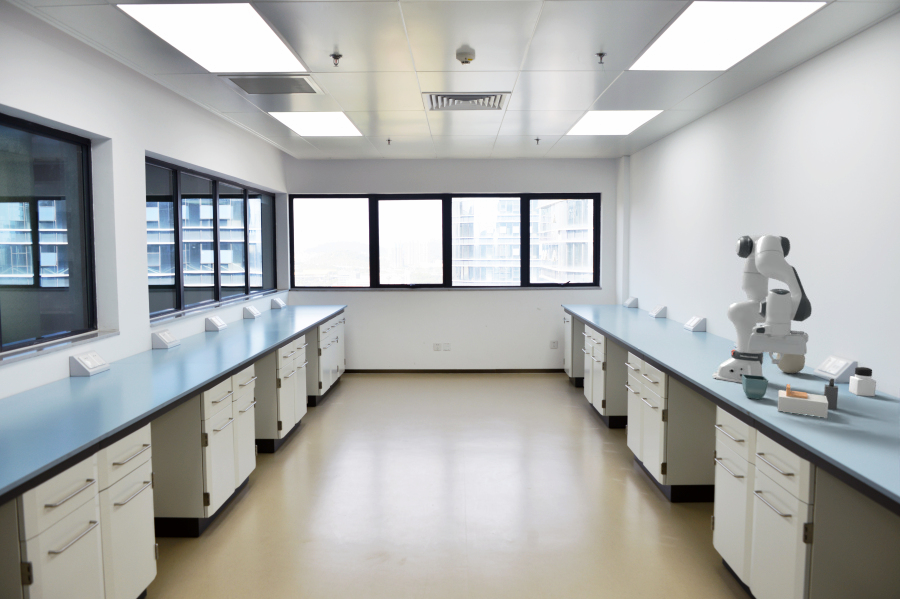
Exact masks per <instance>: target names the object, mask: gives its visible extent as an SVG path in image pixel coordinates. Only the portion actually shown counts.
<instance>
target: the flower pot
mask: <svg viewBox="0 0 900 599" xmlns="http://www.w3.org/2000/svg"><path fill="white" fill-rule="evenodd" d="M741 384H742V389H743V393H744V394H745V396H746V397H747V398H748V399H754V398H755V399H757V400H762V399H763V398H764V397H765V395H766V393H767V389H768V385H769V379H768V378H766V377H765V376H764V375H763V376H755V375H742V383H741ZM755 399H754V400H755Z"/></svg>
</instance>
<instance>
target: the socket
mask: <svg viewBox="0 0 900 599" xmlns="http://www.w3.org/2000/svg"><path fill="white" fill-rule="evenodd" d="M807 396H808V398H807V399H806V398H799V397H791V396H786V390H784V389H783V390H782V389H779V390H778V397H777V399H778V400H777V412H778V411H784V412H783V413H785V412H792V413H800V414H807V415H814V416H820V417H825V418H824V419H828V413H829V412H828V410H829V409H828V401H827V398H826V396H824V395H821V394H812V393H807ZM792 413H791V414H792ZM820 417H819V418H820Z"/></svg>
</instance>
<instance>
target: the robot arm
mask: <svg viewBox="0 0 900 599" xmlns="http://www.w3.org/2000/svg"><path fill="white" fill-rule="evenodd" d="M790 251H791V242H790V239H789V238H788V237H786V236H782V235H778V236H775V235H772V234H771V235H769V234H768V235H767V234H765V235H764V234H762V235H743V236H740V237H739V238H738V239H737V241H736V243H735V252H736V255H737V256H738V257H739V258H742V259H744V264H743V268H742V276H741V277H742V278H741V289H742V290H743V292H745V294H746V296H747V300H743V301H742V300H741V301H737V302H734V303H731V304H729V306H728V307H727V312H726V315H727V317H728V319H729V321H730V322H732V324H733V326H734V327H735V328H734V329H735V330H736V331H735V332H736V349H732V350H731V351H730V352H731V353H730V354H731V357H730V358H728V359H726V360H725V361H723V362H721V363H720V364H719V366H718V368H717V371H714V372H713V373H712V378H713V377H714V379H715V378H716V379H717V380H722V381H728V382H735V383H741V384H742V375H755V376H764V375H763V363H764V352H765V353H768V355H769V357H770V359H771V364H774V365H777V364H780V360H781V359H782V358H783V356H784V353H785V354H796V355H804V356H805V355H806V354H807V353H808V352H807V351H808V350H807V349H808V348H807V343H808V342H809V334H808V332H805V331H802V330H800V331H798V330H792V321H795V322H803V321H807V319H808V318H810V316H811V315H812V304H811V302H810V299H809V298H808V296H807V294H806V291H805V290H804V287H803V283H802V281H801V279H800V276H799V274H798V272H797V269H796V268H795V266H793V265H790V264H789V262H788V261H786V258H787V256H789V254H790ZM770 279H774V280H776V281H779V282H782V283H784V284H785V285H786V286H788V289H789V290H787V289H785V288H784V289H782V288H773V289H770V290H769V280H770ZM757 324H760V325H757ZM761 324H762V325H761ZM774 353H775V354H777V353H780V358H779V359H776V358H774V356H773V355H774Z"/></svg>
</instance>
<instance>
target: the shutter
mask: <svg viewBox="0 0 900 599" xmlns="http://www.w3.org/2000/svg"><path fill="white" fill-rule="evenodd" d="M785 391H786V396H791V397H799V398H806V399H807V398H808V396H807V394H808V392H805V391H804V392H803V391H797V390H796V391H795V390H791V383H790V384H788V383H787V384H786V390H785Z"/></svg>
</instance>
